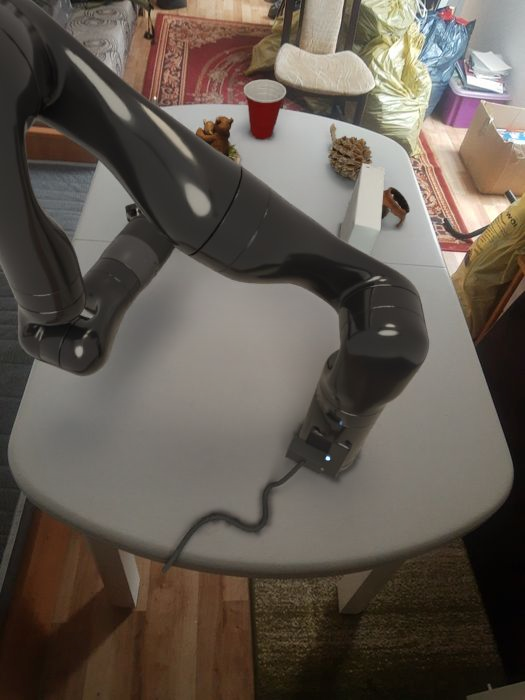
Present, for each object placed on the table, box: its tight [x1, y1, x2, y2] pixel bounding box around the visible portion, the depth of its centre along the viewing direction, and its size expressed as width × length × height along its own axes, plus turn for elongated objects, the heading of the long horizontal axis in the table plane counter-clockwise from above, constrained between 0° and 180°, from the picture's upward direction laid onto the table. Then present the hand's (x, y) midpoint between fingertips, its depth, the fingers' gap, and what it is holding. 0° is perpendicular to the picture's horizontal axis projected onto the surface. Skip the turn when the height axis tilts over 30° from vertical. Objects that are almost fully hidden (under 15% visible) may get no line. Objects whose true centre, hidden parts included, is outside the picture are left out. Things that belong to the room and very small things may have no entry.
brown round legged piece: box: [381, 186, 411, 228], centre depth 110 cm, size 12×10×8 cm
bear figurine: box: [195, 114, 242, 165], centre depth 116 cm, size 14×15×12 cm
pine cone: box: [327, 122, 373, 181], centre depth 121 cm, size 22×10×10 cm, turn 19°
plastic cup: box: [243, 79, 287, 140], centre depth 126 cm, size 11×11×12 cm
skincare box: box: [338, 163, 386, 256], centre depth 97 cm, size 21×5×16 cm, turn 168°
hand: (187, 193), depth 79 cm, fingers closed
